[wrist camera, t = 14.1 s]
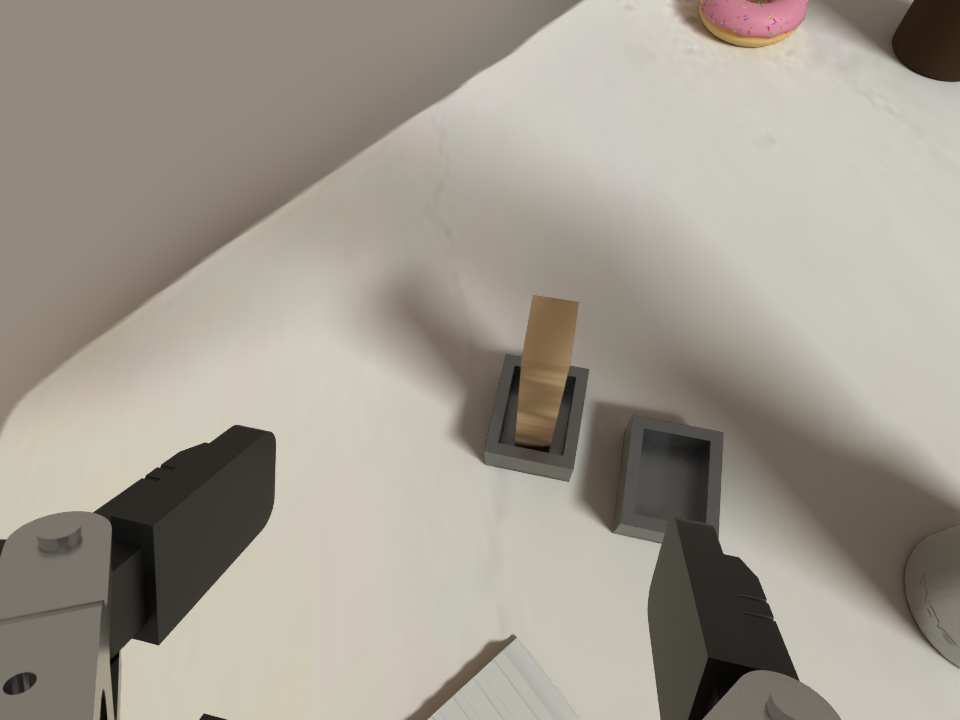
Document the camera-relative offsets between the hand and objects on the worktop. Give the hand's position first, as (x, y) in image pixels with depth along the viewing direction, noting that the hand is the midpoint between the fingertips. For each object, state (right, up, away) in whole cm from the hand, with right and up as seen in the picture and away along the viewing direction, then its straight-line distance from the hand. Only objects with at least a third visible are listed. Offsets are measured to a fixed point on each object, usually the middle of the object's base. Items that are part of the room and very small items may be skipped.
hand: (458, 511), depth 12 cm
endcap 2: (+13, -6, +31) cm, 34 cm away
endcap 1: (+5, -2, +33) cm, 34 cm away
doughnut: (+29, +39, +54) cm, 73 cm away
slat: (+5, -2, +33) cm, 33 cm away
